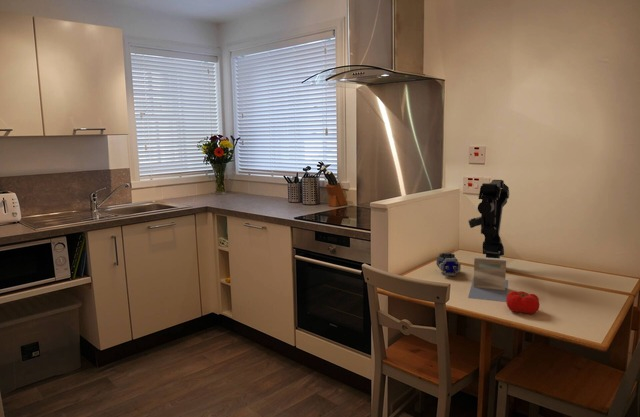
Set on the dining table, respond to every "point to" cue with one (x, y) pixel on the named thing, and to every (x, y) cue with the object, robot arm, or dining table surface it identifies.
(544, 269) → the dining table surface
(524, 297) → the tomato
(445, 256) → the toy
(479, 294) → the mat
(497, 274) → the board
